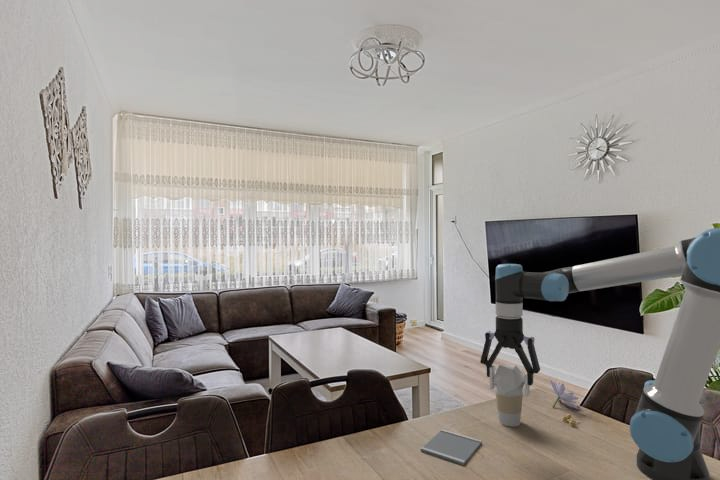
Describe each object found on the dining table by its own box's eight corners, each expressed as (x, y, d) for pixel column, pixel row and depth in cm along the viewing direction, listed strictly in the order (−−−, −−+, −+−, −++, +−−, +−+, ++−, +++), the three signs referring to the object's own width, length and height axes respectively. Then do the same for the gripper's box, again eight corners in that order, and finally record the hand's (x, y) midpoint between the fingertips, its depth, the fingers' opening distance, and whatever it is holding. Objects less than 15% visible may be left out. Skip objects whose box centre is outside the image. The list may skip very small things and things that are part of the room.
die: (521, 402, 117) (534, 372, 120) (493, 386, 119) (507, 356, 122) (511, 402, 125) (524, 373, 128) (485, 386, 127) (498, 358, 129)
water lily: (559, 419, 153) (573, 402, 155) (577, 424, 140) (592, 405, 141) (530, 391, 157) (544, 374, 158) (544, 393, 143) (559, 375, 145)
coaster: (481, 443, 124) (481, 440, 124) (463, 465, 113) (463, 462, 113) (441, 431, 132) (441, 429, 132) (420, 451, 120) (420, 448, 120)
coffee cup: (489, 419, 140) (488, 374, 140) (509, 413, 144) (508, 370, 144) (509, 430, 132) (508, 383, 132) (530, 424, 136) (529, 378, 136)
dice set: (572, 428, 134) (572, 422, 134) (558, 422, 138) (558, 416, 138) (582, 425, 136) (582, 419, 136) (568, 419, 141) (568, 413, 141)
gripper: (552, 318, 120) (552, 395, 120) (477, 310, 133) (477, 380, 133) (545, 323, 113) (546, 404, 114) (468, 314, 127) (468, 387, 127)
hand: (509, 391), depth 123 cm, fingers closed on die, 9 cm apart
